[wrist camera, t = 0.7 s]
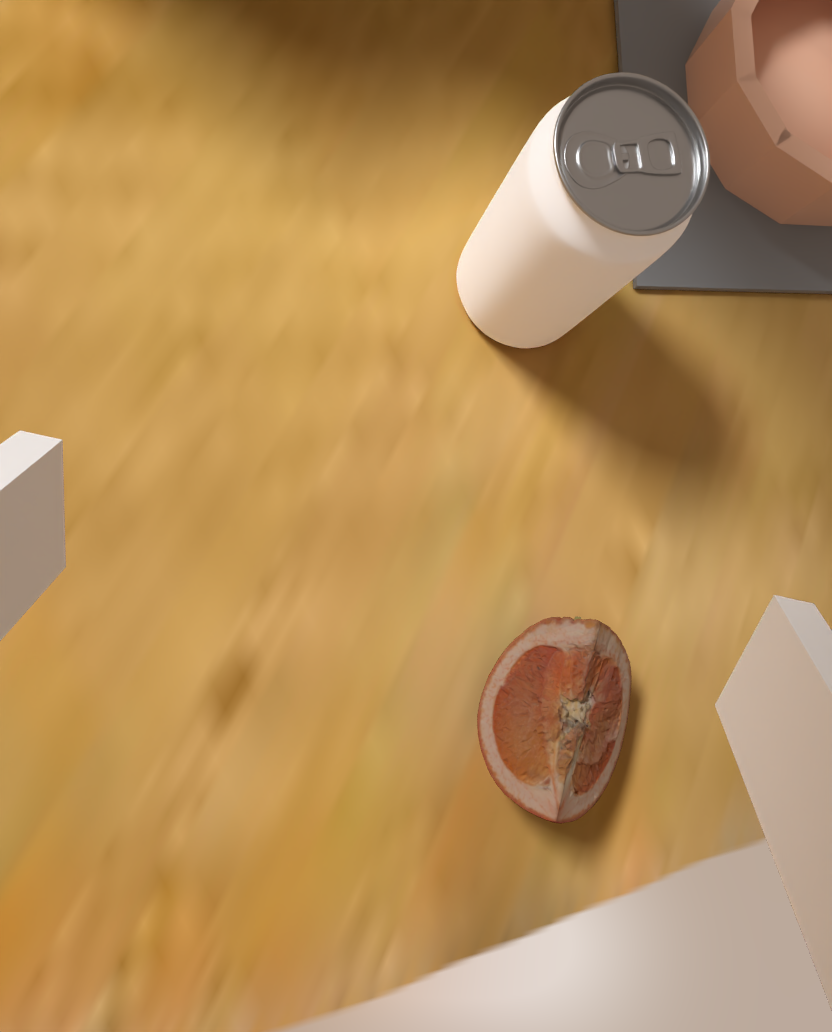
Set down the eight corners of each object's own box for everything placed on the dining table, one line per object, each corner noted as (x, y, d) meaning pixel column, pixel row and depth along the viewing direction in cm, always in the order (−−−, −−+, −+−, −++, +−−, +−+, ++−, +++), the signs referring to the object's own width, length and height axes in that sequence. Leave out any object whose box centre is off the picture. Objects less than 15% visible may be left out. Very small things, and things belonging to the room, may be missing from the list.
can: (443, 227, 37) (525, 63, 25) (568, 215, 38) (702, 54, 26) (467, 359, 36) (561, 256, 25) (592, 343, 38) (739, 238, 26)
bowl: (678, -24, 40) (723, -90, 36) (894, 0, 42) (958, -59, 38) (696, 220, 39) (744, 180, 35) (915, 230, 41) (983, 193, 37)
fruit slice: (497, 597, 36) (533, 601, 31) (626, 634, 37) (681, 643, 32) (451, 775, 35) (481, 808, 30) (586, 807, 36) (635, 844, 31)
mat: (608, -89, 40) (611, -95, 39) (936, -47, 43) (942, -53, 43) (633, 288, 38) (637, 285, 38) (970, 297, 42) (976, 294, 42)
